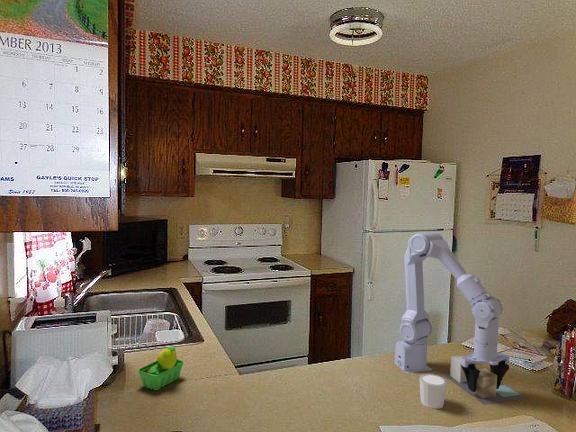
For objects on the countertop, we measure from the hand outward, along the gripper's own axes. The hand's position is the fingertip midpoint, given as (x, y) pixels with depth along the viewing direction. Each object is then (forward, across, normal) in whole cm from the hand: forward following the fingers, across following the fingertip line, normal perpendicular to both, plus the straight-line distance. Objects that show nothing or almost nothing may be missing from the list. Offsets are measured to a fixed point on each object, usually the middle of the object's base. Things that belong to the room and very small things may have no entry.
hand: (483, 388), depth 110 cm
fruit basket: (+2, -87, +27) cm, 91 cm away
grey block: (+1, 0, +9) cm, 9 cm away
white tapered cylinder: (+2, -17, -1) cm, 17 cm away
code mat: (+2, +3, +4) cm, 5 cm away
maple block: (+1, 0, 0) cm, 1 cm away
